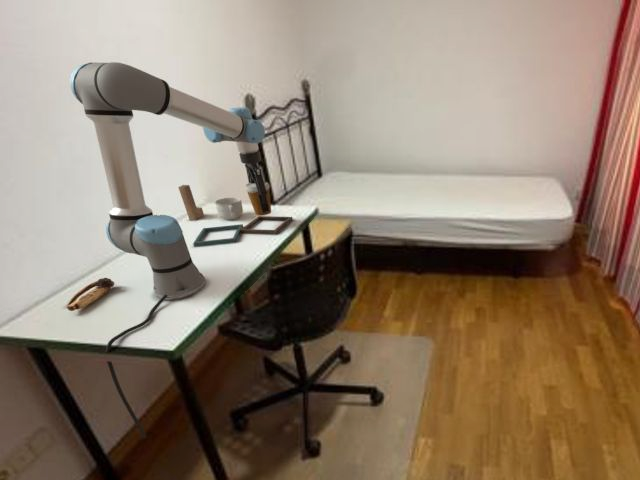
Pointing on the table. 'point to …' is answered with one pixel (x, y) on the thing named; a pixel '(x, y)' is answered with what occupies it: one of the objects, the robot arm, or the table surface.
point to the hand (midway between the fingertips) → (262, 208)
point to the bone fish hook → (90, 294)
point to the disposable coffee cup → (255, 200)
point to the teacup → (229, 208)
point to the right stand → (267, 218)
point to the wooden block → (190, 203)
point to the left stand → (220, 241)
